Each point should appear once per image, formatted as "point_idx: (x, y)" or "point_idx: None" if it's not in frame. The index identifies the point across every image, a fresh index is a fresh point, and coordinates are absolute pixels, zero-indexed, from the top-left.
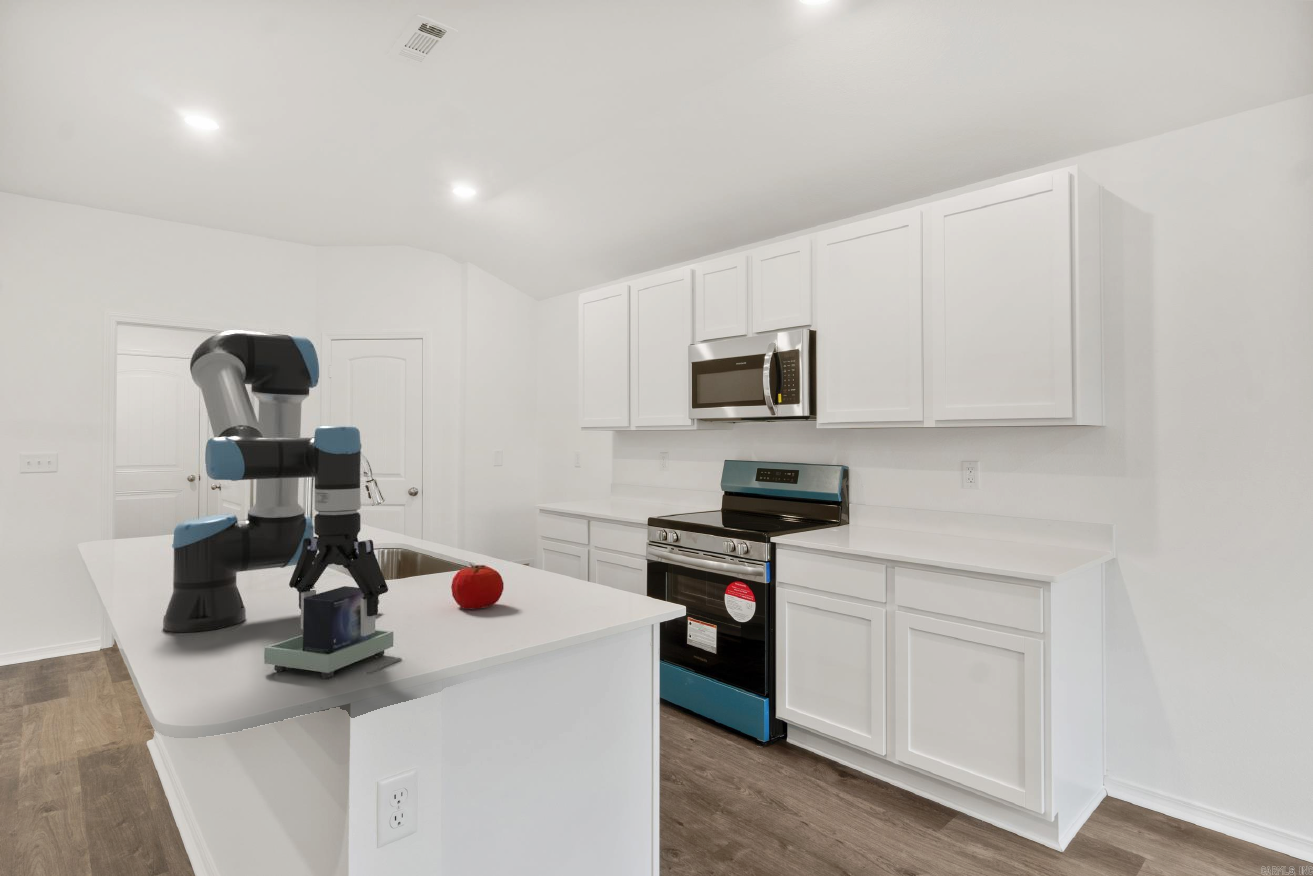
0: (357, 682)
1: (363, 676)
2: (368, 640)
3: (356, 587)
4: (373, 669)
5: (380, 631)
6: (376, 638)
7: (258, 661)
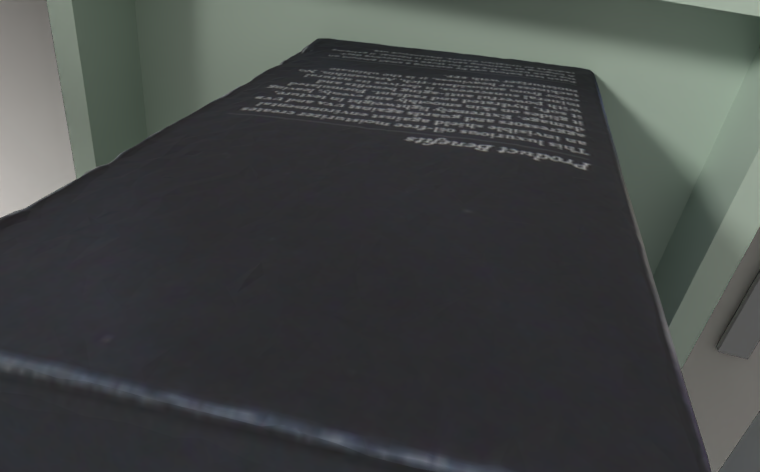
0: (722, 456)
1: (718, 387)
2: (696, 321)
3: (174, 463)
4: (749, 316)
5: (687, 3)
6: (745, 246)
7: (24, 204)
